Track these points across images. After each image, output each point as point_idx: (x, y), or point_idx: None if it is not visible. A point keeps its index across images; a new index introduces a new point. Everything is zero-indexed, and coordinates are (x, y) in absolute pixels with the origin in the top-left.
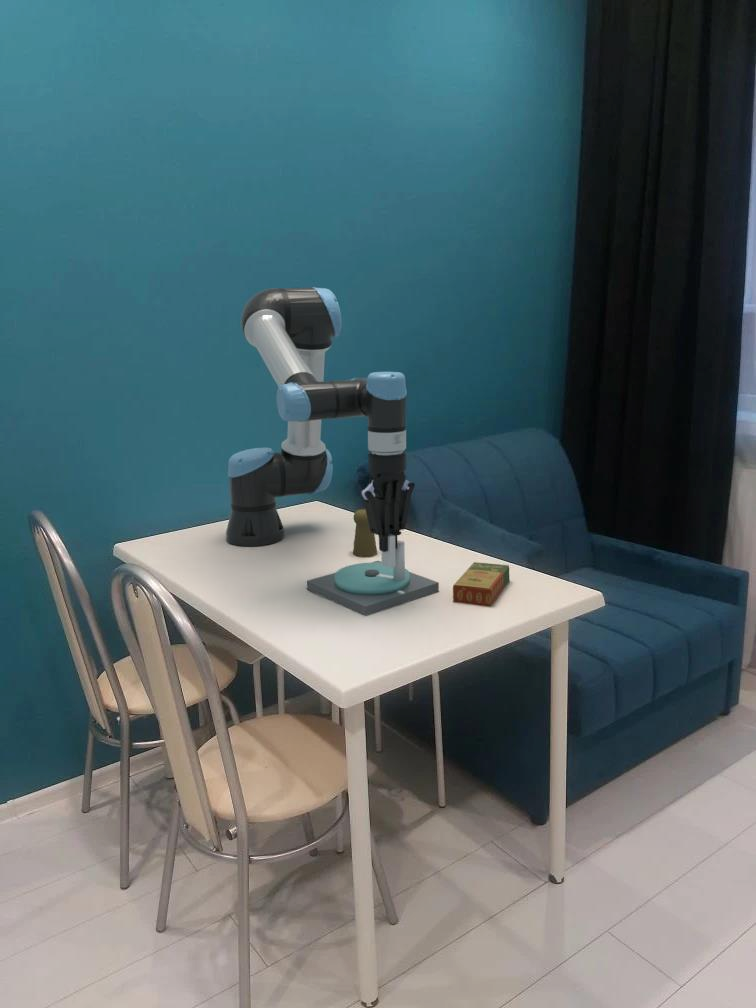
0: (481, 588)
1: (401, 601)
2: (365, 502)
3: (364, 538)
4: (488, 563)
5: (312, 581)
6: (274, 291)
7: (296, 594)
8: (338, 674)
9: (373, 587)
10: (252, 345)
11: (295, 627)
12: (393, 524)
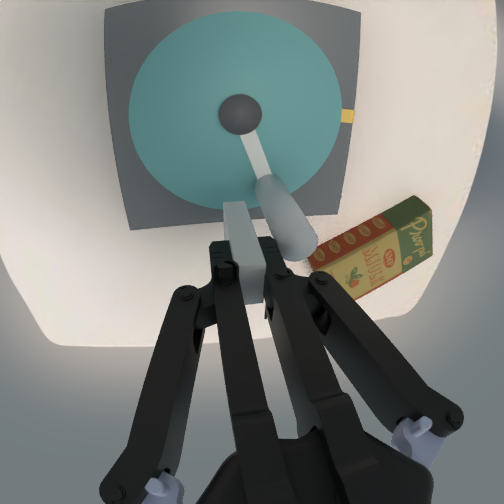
0: None
1: None
2: (134, 441)
3: None
4: (431, 232)
5: (112, 20)
6: None
7: (76, 31)
8: (50, 326)
9: (179, 195)
10: None
11: (17, 196)
12: (272, 331)
